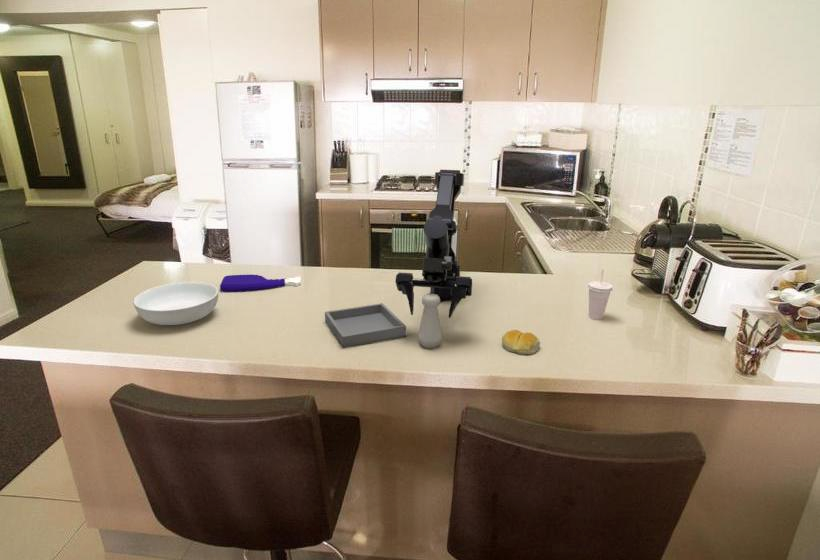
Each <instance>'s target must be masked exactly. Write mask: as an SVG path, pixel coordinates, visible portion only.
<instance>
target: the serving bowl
mask: <svg viewBox="0 0 820 560" xmlns="http://www.w3.org/2000/svg"><path fill="white" fill-rule="evenodd" d="M218 300H219V289H218V287H216V285H213V284H211V283H207V282H200V281H182V282H181V281H180V282H179V281H178V282H172V283H165V284H160V285H157V286H154V287H151V288H149V289H146V290H144V291H142V292H140V293H138V294H137V296H135V297H134V298H133V303H132V304H133V306H134V308H135V310H136V313H137V314H138V315H139V316H140V318H142V319H143V320H145V321H147V322H148V323H151V324H154V325H159V326H177V325H179V326H180V325H185V324H189V323H192V322H196V321H198V320H201V319H203V318H204V317H207V316H208V315H209V314H211V312H213V310H214V309H215V307H216V305H218V304H217V303H218Z"/></svg>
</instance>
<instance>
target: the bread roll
mask: <svg viewBox="0 0 820 560" xmlns="http://www.w3.org/2000/svg"><path fill="white" fill-rule="evenodd" d="M501 345H502V347H503V348H504V349H505V350H506V351H508V352H511V353H517V354H519V355H533V354H535V353H536V352H538V350H539V348H540V345H541V341H540V339H539V338H538V337H537V336H536V335H535V334H533V333H531V332H521V330H517V329H513V330H509V331H506V332H505V333H504V334H503V336H502V337H501Z"/></svg>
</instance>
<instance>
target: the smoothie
mask: <svg viewBox="0 0 820 560" xmlns="http://www.w3.org/2000/svg"><path fill="white" fill-rule="evenodd" d="M604 270H605V269H603V268H601V272H600V279H599V280H598V281H595V280H594V281H590V282H589V283H588V286H587V288H588V317H589V319H592V320H596V321H601V320H603V318H604V314H605V311H606V308H607V306H608V300H609V298H610V295H611V292H612V291H613V285H612V284H610V283H608V282H604V281H603V276H604Z"/></svg>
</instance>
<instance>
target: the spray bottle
mask: <svg viewBox="0 0 820 560" xmlns="http://www.w3.org/2000/svg"><path fill="white" fill-rule="evenodd" d="M301 279H302V278H301V276H300V275H298V276H295V277H293V278H292V277H291V278H290V277H284V278H280V279H278V278H276V279H275V278H274V279H273V278H270V279H267V278H266V277H265V276H263V275H259V274H232V275H225V276H223V278H222V280H221V282H220V285H219V288H220V292H222V291H223V293H238V292H239V293H244V292H245V291H246V292H256V291H257V292H258V290H259V291H265V289H266V290H272V289H275V288H276V289H277V288H283V287H285V286H286V287H287V286H289V287H290V286H291V287H298V286H299V285H301Z"/></svg>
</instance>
